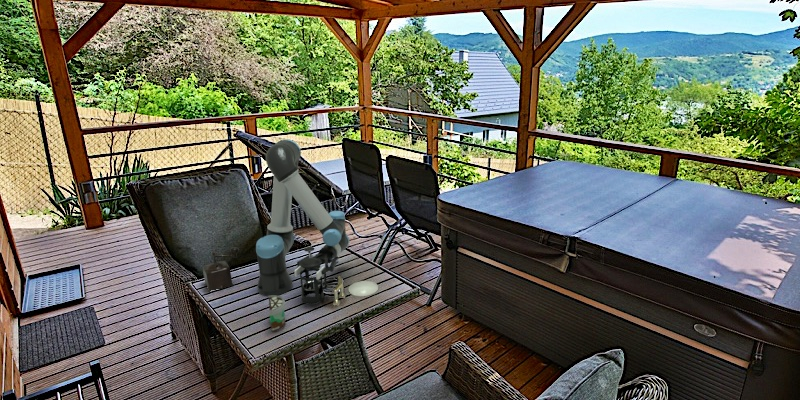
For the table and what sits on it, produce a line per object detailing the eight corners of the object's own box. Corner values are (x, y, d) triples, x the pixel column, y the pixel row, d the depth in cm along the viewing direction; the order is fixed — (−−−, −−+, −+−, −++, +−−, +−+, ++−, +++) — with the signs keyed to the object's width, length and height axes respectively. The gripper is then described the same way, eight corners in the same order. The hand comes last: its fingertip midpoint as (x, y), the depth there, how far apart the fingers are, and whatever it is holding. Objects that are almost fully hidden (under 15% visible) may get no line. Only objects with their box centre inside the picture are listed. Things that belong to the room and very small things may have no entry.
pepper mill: (209, 293, 199) (203, 256, 194) (204, 284, 208) (198, 248, 203) (245, 283, 207) (239, 247, 202) (239, 274, 216) (233, 240, 211)
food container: (289, 331, 170) (286, 308, 167) (272, 334, 168) (268, 311, 165) (287, 314, 181) (284, 292, 178) (271, 317, 179) (268, 295, 176)
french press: (305, 307, 182) (301, 255, 175) (296, 297, 189) (291, 247, 182) (331, 298, 188) (328, 248, 181) (321, 289, 196) (318, 240, 188)
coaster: (346, 297, 192) (346, 295, 192) (350, 282, 205) (350, 281, 205) (377, 296, 192) (377, 295, 192) (379, 281, 204) (378, 280, 204)
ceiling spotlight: (333, 305, 186) (332, 290, 184) (338, 289, 199) (337, 275, 197) (342, 305, 186) (341, 290, 184) (347, 289, 199) (345, 275, 197)
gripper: (352, 262, 200) (331, 286, 179) (308, 257, 205) (283, 280, 185) (351, 247, 197) (330, 269, 177) (307, 242, 203) (281, 263, 182)
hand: (306, 275), depth 181 cm, fingers closed on french press, 9 cm apart
